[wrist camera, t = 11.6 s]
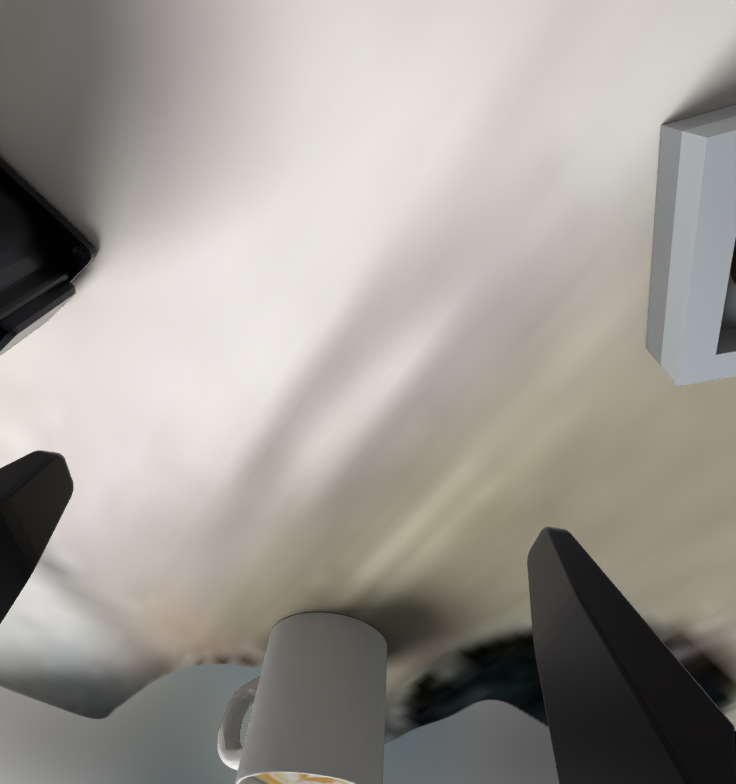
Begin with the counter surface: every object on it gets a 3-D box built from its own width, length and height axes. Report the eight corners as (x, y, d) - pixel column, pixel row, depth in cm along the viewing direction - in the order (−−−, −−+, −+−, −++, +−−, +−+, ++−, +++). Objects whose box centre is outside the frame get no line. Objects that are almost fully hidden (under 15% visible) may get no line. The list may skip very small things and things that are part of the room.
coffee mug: (374, 609, 35) (365, 773, 27) (396, 669, 41) (393, 819, 33) (214, 616, 38) (161, 769, 29) (255, 671, 43) (220, 813, 35)
